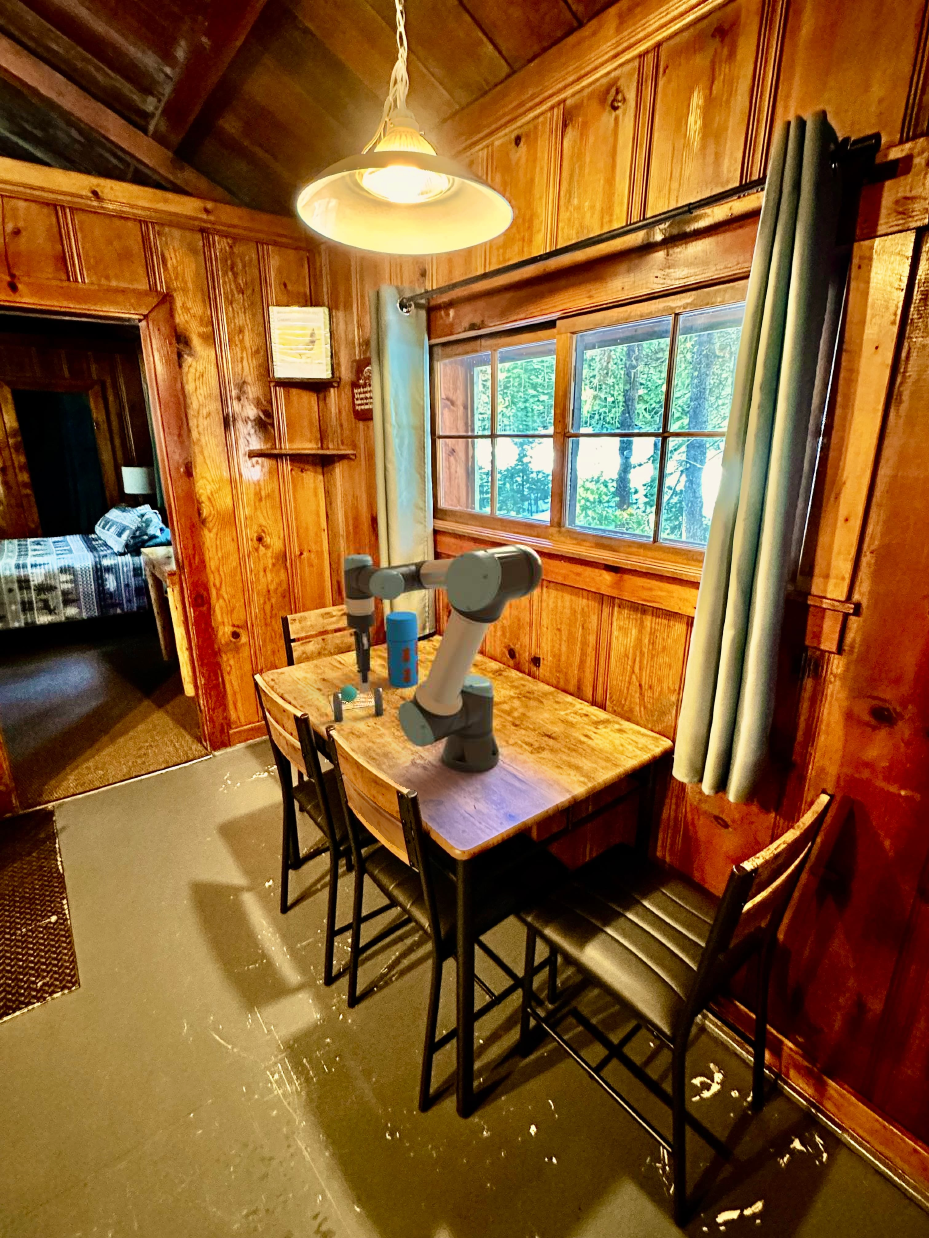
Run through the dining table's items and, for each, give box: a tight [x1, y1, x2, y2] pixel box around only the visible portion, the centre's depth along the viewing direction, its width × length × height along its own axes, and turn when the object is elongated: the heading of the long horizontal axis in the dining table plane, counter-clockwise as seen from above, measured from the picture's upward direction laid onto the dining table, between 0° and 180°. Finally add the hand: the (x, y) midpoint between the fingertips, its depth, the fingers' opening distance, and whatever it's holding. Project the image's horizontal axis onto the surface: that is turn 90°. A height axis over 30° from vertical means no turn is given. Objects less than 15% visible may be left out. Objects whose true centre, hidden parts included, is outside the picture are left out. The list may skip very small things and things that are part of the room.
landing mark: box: [328, 689, 374, 713], centre depth 191 cm, size 14×14×1 cm
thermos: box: [385, 611, 419, 689], centre depth 202 cm, size 11×11×25 cm
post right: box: [373, 686, 384, 717], centre depth 179 cm, size 3×3×9 cm
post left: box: [331, 691, 344, 723], centre depth 175 cm, size 3×3×9 cm
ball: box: [340, 684, 358, 702], centre depth 189 cm, size 6×6×6 cm
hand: (364, 691), depth 163 cm, fingers closed
